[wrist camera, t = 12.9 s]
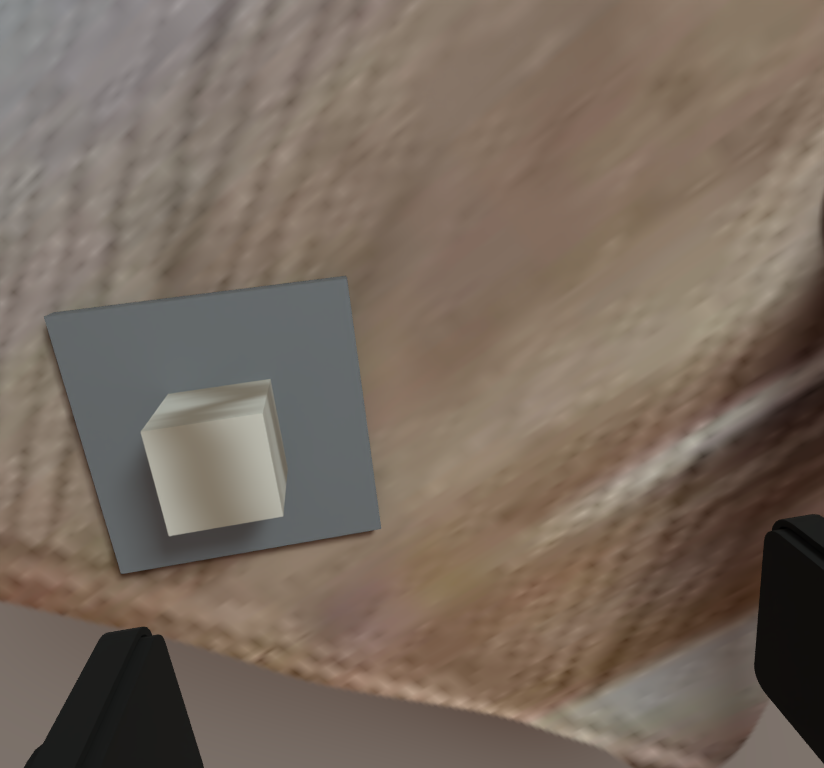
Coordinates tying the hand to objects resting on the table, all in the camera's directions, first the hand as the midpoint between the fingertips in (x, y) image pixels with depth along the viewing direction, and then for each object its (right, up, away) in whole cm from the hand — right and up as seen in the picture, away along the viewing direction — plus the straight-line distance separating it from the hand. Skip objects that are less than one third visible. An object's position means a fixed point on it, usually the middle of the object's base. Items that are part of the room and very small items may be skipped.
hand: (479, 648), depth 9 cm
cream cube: (-10, +2, +22) cm, 24 cm away
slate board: (-11, +2, +22) cm, 25 cm away
